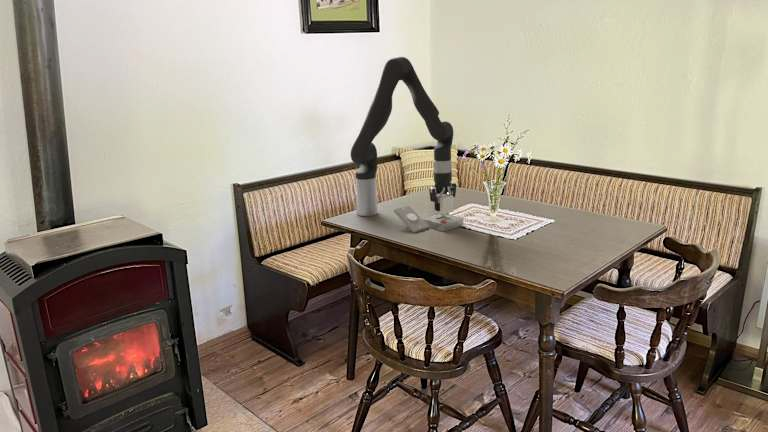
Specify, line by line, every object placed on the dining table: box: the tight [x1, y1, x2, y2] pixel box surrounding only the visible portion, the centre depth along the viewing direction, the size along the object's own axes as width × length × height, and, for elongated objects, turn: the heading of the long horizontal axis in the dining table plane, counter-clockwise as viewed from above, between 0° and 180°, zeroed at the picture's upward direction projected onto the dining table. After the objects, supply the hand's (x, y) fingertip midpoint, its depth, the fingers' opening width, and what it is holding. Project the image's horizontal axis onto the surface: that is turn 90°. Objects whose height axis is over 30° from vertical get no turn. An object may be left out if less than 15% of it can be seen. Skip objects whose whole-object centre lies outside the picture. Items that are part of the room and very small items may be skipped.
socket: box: [422, 213, 464, 232], centre depth 249 cm, size 12×12×4 cm
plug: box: [432, 194, 454, 217], centre depth 247 cm, size 6×6×8 cm
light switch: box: [393, 205, 430, 234], centre depth 248 cm, size 8×6×14 cm
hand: (443, 209), depth 248 cm, fingers closed on plug, 6 cm apart
